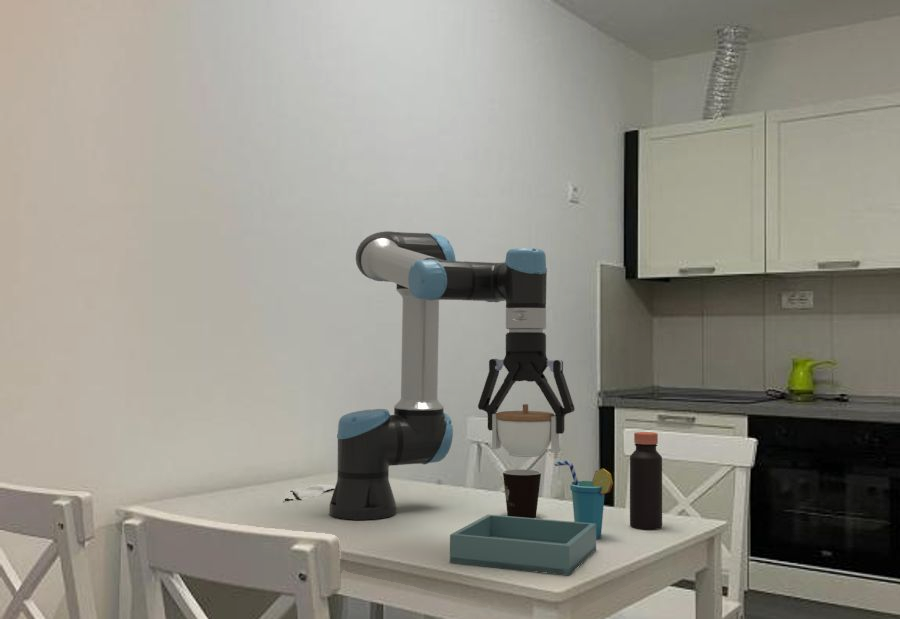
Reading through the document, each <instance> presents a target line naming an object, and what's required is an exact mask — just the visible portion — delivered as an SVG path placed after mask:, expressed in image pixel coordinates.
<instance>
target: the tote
mask: <svg viewBox="0 0 900 619" xmlns="http://www.w3.org/2000/svg"><path fill="white" fill-rule="evenodd" d="M596 551H597V539H596V524H595V523H583V522H574V521H570V520H557V519H548V518H547V519H546V518H545V519H544V518H537V517H536V518H524V517H513V516H508V515H500V514H499V515H498V514H486V515H484V516H483V517H481V518H478V519H477V520H474V521H473V522H471V523H469V524H467V525H465V526H464V527H462V528H460V529H458V530H456V531H454V532H453V533H451V534H449V563H450V564H451V563H452V564H460V565H466V566H467V565H470V566H476V565H478V566H479V567H486V566H488V567H487V568H495V567H496V568H497V569H504V568H507V569H506V570H513V569H515V571H523V570H525V571H524V572H532V571H537V572H536V573H541V572H547V573H546V574H550V573H556V574H555V575H559V574H566V575H565V576H571V575H572V574H573V573H574V572H575V571H576V570H577V569H578V568H579V567H580V566H581V565H582V564H583V563H584V562H586V560H587V559H589V558H590V557H591V555H593V553H594V552H596ZM581 563H582V564H581ZM580 564H581V565H580ZM579 565H580V566H579ZM578 566H579V567H578ZM577 567H578V568H577ZM576 568H577V569H576ZM575 569H576V570H575ZM574 570H575V571H574ZM573 571H574V572H573ZM572 572H573V573H572Z"/></svg>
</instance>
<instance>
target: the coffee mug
mask: <svg viewBox="0 0 900 619" xmlns="http://www.w3.org/2000/svg"><path fill="white" fill-rule="evenodd" d="M541 475H542V472H541V471H539V470H535V469H524V468H523V469H519V468H518V469H505V470H503V471H502V476H503V477H502V478H503V484H504V485H503V486H504V493H505V494H504V496H505V504H506V512H507V513H506V514H507V515H506V516H513V517H524V518H536V519H537V511H538V504H539V503H538V502H539V493H540V487H541V486H540V485H541V479H542V478H541Z"/></svg>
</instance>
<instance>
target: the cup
mask: <svg viewBox="0 0 900 619" xmlns="http://www.w3.org/2000/svg"><path fill="white" fill-rule="evenodd" d="M554 466H555V467H558V466H559V467H560V466H569V469H570V473H571V477H572V480H573V481H572V482H571V484H569V488H570V489H569V490H570V491H571V496H572V497H571V498H572V506H573V520H574V521H573V522H583V523H595V524H596V540H599V539H601V538H602V529H603V528H602V527H603V519H604V518H603V516H604V506H605V505H604V504H605V497H606V496H605V495H606V494H609V493H610V492H611V490H612V487H613V484H614V482H613V478H612V474H611V472H609V471H608V470H606V469H605V468H600V469H598V470H596V471H595V472H594V475H593V477H592V480H591V481H590V480H578V477H577V473H576V470H575V467H574V465H573V463H572V462H570V461H569V460H561V461H554Z"/></svg>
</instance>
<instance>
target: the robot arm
mask: <svg viewBox="0 0 900 619" xmlns="http://www.w3.org/2000/svg"><path fill="white" fill-rule="evenodd" d="M546 258H547V257H546V253H545V251H544V250H543V249H541V248H536V247H534V248H532V247H517V248H516V247H515V248H510V249H508V251H506V256H505V260H504V261H503V262H485V261H484V262H483V261H457V259H456V253H455V250H454V248H453V246H452V244H451V242H450V241H449V239H447V237H445V236H443V235H441V234H433V233H431V232H429V233H428V232H426V233H424V232H422V233H421V232H404V231H403V232H402V231H399V232H398V231H390V230H389V231H379V232H375V233H373V234H370V235H368V236H366V237H365V238H364V239H363V240H362V241H361V242H360V243H359V245H358V247H357V249H356V253H355V263H356V266H357V269H358V270H359V272H361V274H362V275H364V277H366V278H368V279H370V280H373V281H376V282H387V283H388V282H390V283H394V284H396V290H395V291H396V292H397V293H398V294H400V296H401V297H402V317H401V318H402V321H401V322H402V324H401V327H402V328H401V369H400V370H401V373H400V374H401V377H400V378H401V380H400V385H401V386H400V400H399V401H398V402H397V403H396V404H394V407H393V408H394V409H393V411H394V413H393V414H390V412H389V410H388V409H384V408H375V409H363V410H358V411H357V410H356V411H354V412H349V413H346V414H344V415H342V416H341V417H340V418H339V420H338V425H337V428H338V429H337V435H336V438H337V480H336V483H335V485H336V486H335V489H333V492H332V496H331V499H330V503H329V508H328V509H329V511H328V512H329V516H331V517H334V518H337V519H341V520H343V519H344V520H355V521H356V520H357V521H360V520H361V521H363V520H364V521H365V520H368V521H369V520H379V519H384V518H385V519H386V518H389V517H392V516H394V515H396V514H397V503H396V500H395V497H394V496H395V495H394V493H393V490H392V486H391V484H390V483H391V482H390V480H389V478H390V477H389V470H390V466H403V465H404V466H405V465H419V464H421V465H428V464H432V463H438V462H440V461H442V460H444V459H445V458H446V456H447V455H448V454H449V452H450V450H451V446H452V442H453V437H454V427H453V424H452V422H453V421H452V418H451V417H450V416H449V414H447V413H445V412H444V405H443V404H442V403H441V402H440V401H439V400H438V384H439V380H438V378H439V376H438V374H439V371H438V370H439V328H440V327H439V321H440V318H439V317H440V313H439V312H440V301H441V300H442V301H443V300H445V301H448V300H449V301H473V302H475V301H477V302H478V301H479V302H486V303H487V302H488V303H501V302H505V328H506V330H508V332H506V334H505V356H504V358H503V359H498V358H491V359H489V361H488V374H487V377H486V379H485V383H484V386H483V389H482V392H481V395H480V397H479V398H480V399H479V402H478V404H477V408H478V410H480V411H484V412H486V414H487V430H488V431H492V435H491V436H492V438H491V439H492V440H491V445H492V446H491V448H492V450H498V449H501V448H502V444H501V442H500V440H499V436H498V429H497V413H498V409H499V408H500V407H501V405H502V403H503V401H504V400H505V399H506V397H507V395H508V393H509V392H510V391H511V388H513V385H515V383H516V382H524V381H525V382H535V384H536V385H537V386H538V387H539V389H540V391H541V392H542V394H543V396H544V397H545V399H546V401H547V402H548V404H549V406H550V407H551V409H552V411H553V413H554V416H551V443H550V452H551V453H557V452H559V451H560V434H561V435H562V434H564V432H565V418H566V417H565V416H566V415H568V414H571V413H573V412H575V406H574V405H575V404H574V402H573V399H572V395H571V393H570V390H569V386H568V384H567V381H566V378H565V374H564V361H562V360H561V359H555V360H550V359H548V357H547V334H546V333H545V332H544V330H546V329H547V308H546V306H547V273H548V267H547V260H546ZM503 367H504V368H505V369H506V370H507V374H506V376H505V378H504V379H503V382H502V384H501V386H500V387H499V388H498V390H497V392H496V393H495V395H494V396H493V399H492V395H493V393H494V389H495V386H496V384H497V381H498V378H499V374H500V371H502V370H503V369H502V368H503ZM548 367H549V371H550V372H552V373H553V377H554V378H553V379H554V381H555V383H556V388H557V390H558V394H559V396H560V400H561V402H562V404H563V405H562V404H561V402H560V401H559V398H558V396H556V394H555V392H554V390H553V388H552V387H551V385H550V384H549V382H548V379H547V377H546V376H545V374H544V372H545V370H546V369H547V368H548ZM491 399H492V400H491Z"/></svg>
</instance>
